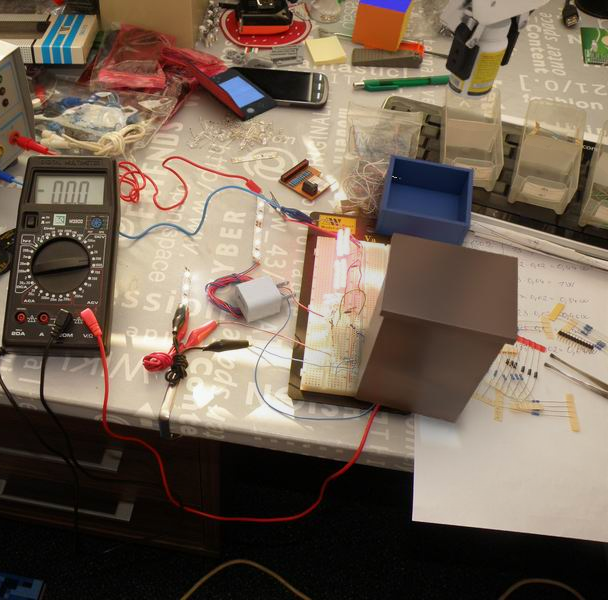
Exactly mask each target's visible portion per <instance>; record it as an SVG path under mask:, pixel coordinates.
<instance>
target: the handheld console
mask: <svg viewBox="0 0 608 600" xmlns="http://www.w3.org/2000/svg"><path fill="white" fill-rule="evenodd" d="M181 61H182V63H183V64H184V65H185V66H186V68H187V69H188V70H189V71H190V73H191V75H193V77H194V78H195V80H196V81H197V84H198V86H199V87H201V88H202V89H203V90H204V91H205V92H206V93H208V94H209V95H210V96H212V97H213V98H214V99H215V100H216V101H217V102H219V103H220V104H221V105H222V106H223V107H225V108H226V109H227V110H228V111H229V112H231V114H233V115H234V116H236V118H237V119H238V120H240V121H241V122H243V123H245V122H247V121H249V120H252V119H254V118H256V117H259V116H260V115H262V114H264V113H266V112H269V111H271V110H273V109H275V108H276V107H277V105H278V101H277V100H275V98H273V97H272V96H271V95H269V94H268V93H267V92H265V91H264V90H263V89H262V88H260V87H259V86H257V85H256V84H255V83H253V82H252V81H251V80H250V79H248V78H247V77H246V76H245V75H243V74H242V73H240V72H239V71H238V70H237V69H234V68H230V69H226V70H224V71H222V72H219V73H217V74H215V75H212V76H209V75H207V74H206V73H205V72H203V71H202V70H201V69H199V68H198V67H197V66H196V65H195V64H194V63H192V62H191V61H190V60H188V59H187V58H186V57H185V56H182V57H181Z"/></svg>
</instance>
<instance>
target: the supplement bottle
mask: <svg viewBox="0 0 608 600" xmlns="http://www.w3.org/2000/svg"><path fill="white" fill-rule="evenodd" d="M475 22H476V21H475V20H474V19H472V18H470V19H469V22H468V27H469V29H470V30H472V28H473V26H474V24H475ZM510 25H511V19H510V18H508V19H505V20H502V21H499V22H497V23H493V24H490V25H486V27H485V29H484V30H483V32H482V34H481V36H480V38H479V40H478V42H477V45H478V46H479V47H480V48H479V52H478V55H477V58H476V61H475V63H474V66H473V69H472V72H471V75H470V78H469V79H468V80H465V81H463V80H461V79H460V78H458V77H457V76H456V75H454V74H453V73H451V72H450V75H449V77H448V81H447V88H448V90H449V91H450V93H451V94H452V95H454V96H456V97H457V98H460V99H464V100H471V101H476V100H478V101H479V100H482V99H485V98H486V97H488V96H489V95H490V93H491V91H492V89H493V86H494V84H495V81H496V78H497V75H498V72H499V69H500V67H501V65H500V64H501V62H502V59H503V56H504V53H505V50H506V48H507V44H508V39H507V34H508V31H509V28H510Z"/></svg>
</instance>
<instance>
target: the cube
mask: <svg viewBox="0 0 608 600" xmlns="http://www.w3.org/2000/svg"><path fill="white" fill-rule="evenodd" d="M414 5H415V0H359V1H358V4H357V10H356V15H355V19H354V26H353V30H352V35H351V43H355V44H358V45H359V44H360V45H364V46H367V47H373V48H376V49H380V50H385V51H389V52H393V53H397V50H398V49H399V46H400V45H401V43H402V41H403V39H404V36H405V34H406V32H407V30H408V27H409V22H410V19H411V16H412V11H413V7H414Z"/></svg>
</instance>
